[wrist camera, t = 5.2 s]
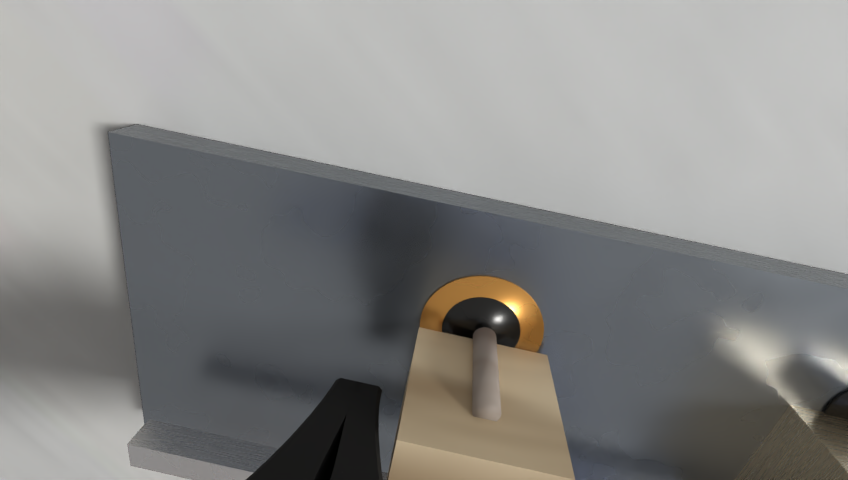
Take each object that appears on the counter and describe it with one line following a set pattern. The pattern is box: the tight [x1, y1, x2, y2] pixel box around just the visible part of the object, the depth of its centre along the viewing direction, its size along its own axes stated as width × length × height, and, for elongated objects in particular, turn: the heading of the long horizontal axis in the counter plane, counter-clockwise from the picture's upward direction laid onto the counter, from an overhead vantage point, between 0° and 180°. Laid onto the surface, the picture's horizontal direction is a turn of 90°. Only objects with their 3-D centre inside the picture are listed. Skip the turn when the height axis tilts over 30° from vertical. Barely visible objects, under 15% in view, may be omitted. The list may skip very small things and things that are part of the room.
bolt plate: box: [108, 124, 848, 480], centre depth 15 cm, size 12×27×1 cm, turn 80°
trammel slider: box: [387, 327, 575, 480], centre depth 12 cm, size 4×4×4 cm
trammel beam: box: [127, 405, 848, 480], centre depth 13 cm, size 7×24×4 cm, turn 80°
